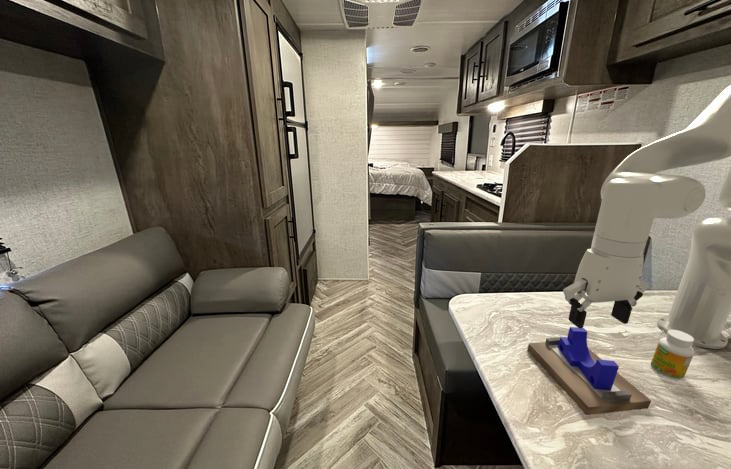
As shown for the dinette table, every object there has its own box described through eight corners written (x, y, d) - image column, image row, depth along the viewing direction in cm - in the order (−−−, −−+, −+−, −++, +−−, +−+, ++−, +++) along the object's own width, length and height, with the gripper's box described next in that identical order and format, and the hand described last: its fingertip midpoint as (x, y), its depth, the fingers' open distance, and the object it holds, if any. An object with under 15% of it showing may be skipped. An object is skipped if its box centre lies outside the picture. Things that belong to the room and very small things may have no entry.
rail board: (575, 345, 73) (578, 334, 72) (648, 408, 56) (653, 394, 55) (527, 349, 72) (529, 338, 71) (586, 415, 55) (590, 401, 54)
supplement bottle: (644, 366, 67) (657, 330, 64) (658, 360, 69) (671, 325, 65) (674, 383, 62) (690, 346, 59) (689, 376, 64) (705, 339, 61)
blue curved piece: (557, 347, 70) (562, 326, 68) (578, 349, 69) (583, 327, 67) (586, 388, 58) (593, 364, 57) (610, 390, 58) (618, 366, 56)
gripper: (639, 235, 59) (619, 308, 64) (559, 241, 57) (545, 315, 63) (681, 249, 52) (654, 329, 57) (591, 256, 50) (572, 338, 56)
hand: (597, 321), depth 60 cm, fingers open, 9 cm apart
